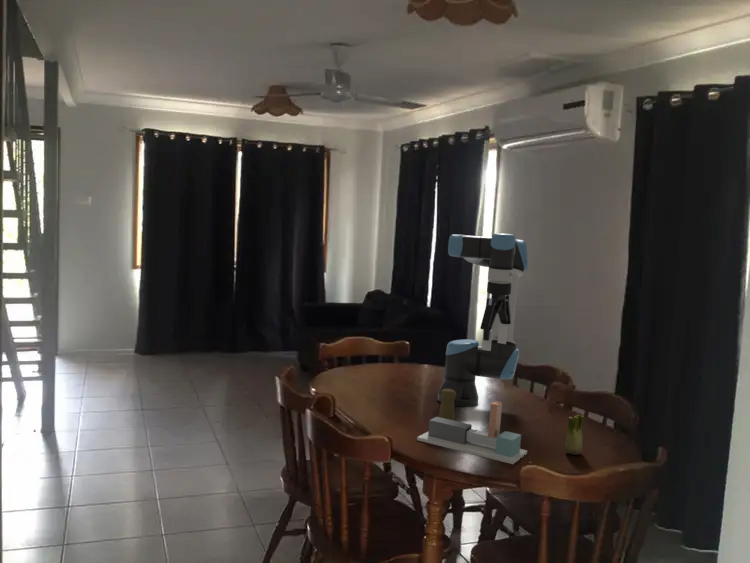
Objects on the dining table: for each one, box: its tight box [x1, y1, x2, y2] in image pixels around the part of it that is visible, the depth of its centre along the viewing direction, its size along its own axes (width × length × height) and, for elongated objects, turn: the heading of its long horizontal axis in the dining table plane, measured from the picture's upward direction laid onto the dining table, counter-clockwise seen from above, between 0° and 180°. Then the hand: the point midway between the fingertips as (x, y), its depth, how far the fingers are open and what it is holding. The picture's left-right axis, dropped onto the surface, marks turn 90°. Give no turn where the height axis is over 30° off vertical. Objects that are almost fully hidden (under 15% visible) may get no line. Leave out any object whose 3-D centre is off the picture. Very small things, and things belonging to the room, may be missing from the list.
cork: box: [437, 389, 456, 421], centre depth 243 cm, size 6×6×11 cm
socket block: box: [495, 430, 522, 457], centre depth 212 cm, size 5×7×5 cm
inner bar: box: [465, 400, 503, 448], centre depth 216 cm, size 16×4×13 cm, turn 59°
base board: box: [416, 430, 528, 465], centre depth 218 cm, size 31×12×1 cm, turn 59°
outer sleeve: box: [427, 416, 473, 444], centre depth 222 cm, size 12×5×5 cm, turn 59°
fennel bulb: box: [564, 414, 585, 456], centre depth 218 cm, size 6×5×12 cm
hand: (494, 346), depth 233 cm, fingers open, 13 cm apart
